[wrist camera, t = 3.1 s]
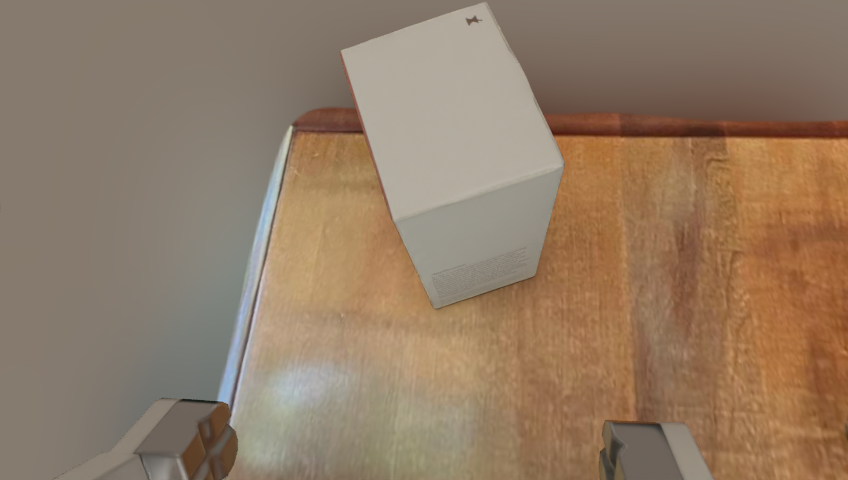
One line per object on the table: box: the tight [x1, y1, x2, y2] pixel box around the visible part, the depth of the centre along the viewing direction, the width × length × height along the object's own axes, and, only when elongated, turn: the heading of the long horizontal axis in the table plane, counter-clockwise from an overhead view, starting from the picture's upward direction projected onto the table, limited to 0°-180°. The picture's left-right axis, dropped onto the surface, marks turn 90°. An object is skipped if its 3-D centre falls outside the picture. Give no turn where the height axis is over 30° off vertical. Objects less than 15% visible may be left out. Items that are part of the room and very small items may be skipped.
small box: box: [340, 2, 565, 309], centre depth 24 cm, size 8×6×13 cm
